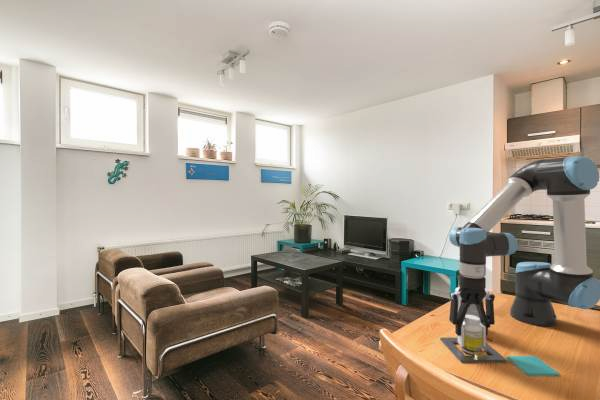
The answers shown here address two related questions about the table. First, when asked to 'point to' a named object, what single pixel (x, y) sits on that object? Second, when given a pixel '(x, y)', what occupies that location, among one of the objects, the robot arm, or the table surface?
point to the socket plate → (478, 356)
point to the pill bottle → (472, 334)
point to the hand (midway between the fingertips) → (471, 344)
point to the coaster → (532, 366)
